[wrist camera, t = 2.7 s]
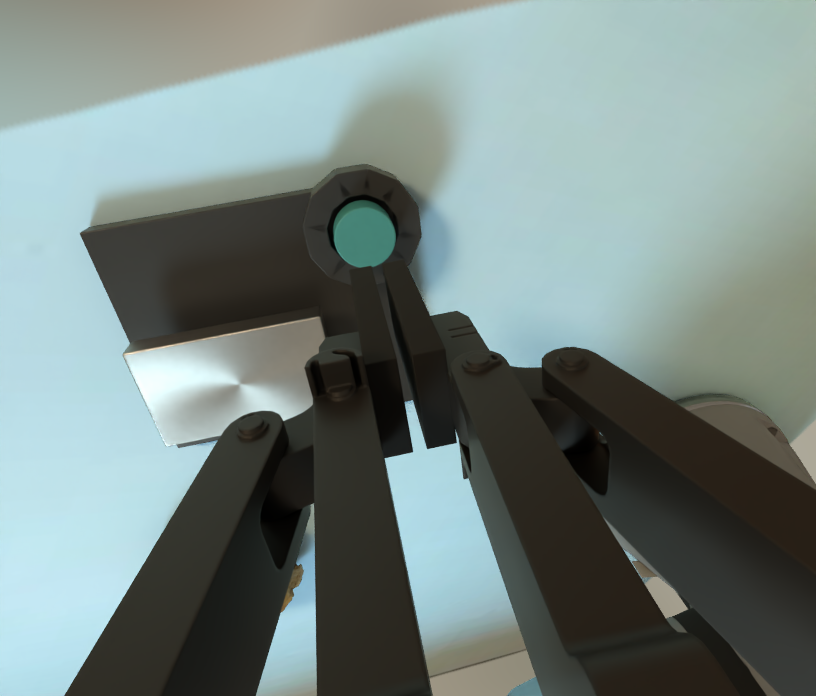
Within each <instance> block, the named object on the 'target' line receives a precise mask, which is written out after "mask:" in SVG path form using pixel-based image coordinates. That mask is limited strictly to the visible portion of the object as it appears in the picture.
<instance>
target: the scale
mask: <svg viewBox="0 0 816 696" xmlns="http://www.w3.org/2000/svg"><path fill="white" fill-rule="evenodd" d="M358 200H367V201H371V202H374V203H376V204H378V205H380V206H381V207H382V208H383V209H384V210H385V211H386V212H387V214H388V216H389V218H390V220H391V222H392V224H393V226H394V228H395V232H396V242H395V246H394V249H393V251H392V253H391V255H390V256H389V257H388V258H387V259H386V260H385V261H384V262H383V263H388V262H393V261H398V260H404V261H405V263H406V265H407V266H408V265H409V264H410V263H411V261H412V259H413V256H414V254H415V251H416V249H417V246H418V244H419V241H420V239H421V226H420V218H419V211H418V206H417V204H416V202H415V201H414V200H413V198H412V197H411V196H410V195H409V193H408V192H407V191H406V189H405V188H404V187H403V185H402V184H401V183H400V182H399V180H398V179H397V178H396V176H394V175H393V174H391V173H388V172H386V171H383V170H381V169H378V168H376V167H373V166H371V165H368V164H361V165H355V166H349V167H343V168H337V169H336V170H335V169H334V170H333V171H332V172H331V173H330V174H329V175H327V176H326V177H325V178H324V179H323V180H322V181H321V182H320V183H318V184H317V185H316V186H315V187H314V188H311V189H305V190H299V191H294V192H288V193H282V194H276V195H271V196H265V197H259V198H254V199H248V200H242V201H236V202H231V203H225V204H219V205H213V206H208V207H202V208H196V209H190V210H185V211H179V212H173V213H168V214H162V215H156V216H150V217H145V218H139V219H133V220H127V221H122V222H116V223H110V224H104V225H99V226H93V227H89V228H87V229H86V230H84V231H82V232H81V233H80V235H81V237H82V240H83V242H84V244H85V246H86V248H87V250H88V253H89V255H90V257H91V259H92V261H93V263H94V266H95V268H96V270H97V272H98V274H99V277H100V279H101V281H102V283H103V285H104V287H105V290H106V292H107V294H108V296H109V298H110V301H111V303H112V305H113V307H114V309H115V311H116V314H117V316H118V318H119V320H120V322H121V324H122V327H123V329H124V331H125V333H126V335H127V338H128V340H129V342H130V343H131V342H132V341H137V340H143V339H148V338H153V337H159V336H164V335H169V334H174V333H180V332H185V331H190V330H195V329H201V328H206V327H211V326H216V325H222V324H227V323H232V322H237V321H243V320H248V319H253V318H258V317H264V316H269V315H274V314H280V313H285V312H290V311H295V310H301V309H306V308H311V307H316V306H320V307H321V311H322V315H323V319H324V324H325V328H326V332H327V336H328V337H332V336H337V335H342V334H347V333H352V332H357V331H358V325H357V319H356V312H355V305H354V299H353V292H352V285H351V279H350V272H349V270H350V269H355V268H360V267H356V266H353V265H351V264H349V263H347V262H346V261H345V260H344V259H343V258H342V257H341V256H340V255H339V253H338V251H337V249H336V246H335V242H334V232H333V227H334V221H335V218H336V216H337V214H338V213H339V211H340V210H341V209H342V208H343V207H344V206H346V205H347V204H349V203H351V202H354V201H358ZM372 270H373V274H374V277H375V281H376V285H377V288H378V292H379V295H380V299H381V303H382V306H383V310H384V314H385V317H386V321H387V325H388V328H389V332H390V336H391V339H392V343H393V346H394V350H395V354H396V357H397V363H398V368H399V374H400V380H401V385H402V391H403V397H404V402H405V401H410V400H413V398H412V395H411V391H410V388H409V384H408V381H407V377H406V374H405V370H404V367H403V364H402V360H401V357H400V353H399V350H398V346H397V343H396V339H395V336H394V331H393V325H392V320H391V314H390V308H389V302H388V296H387V291H386V285H385V279H384V273H383V267H382V263H381V264H379V265H377V266H374V267H372ZM219 438H220V436H216V437H211V438H207V439H202V440H197V441H192V442H187V443H182V444H177V446H178V448H181V447H186V446H191V445H196V444H200V443H205V442H210V441H215V440H219Z"/></svg>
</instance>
